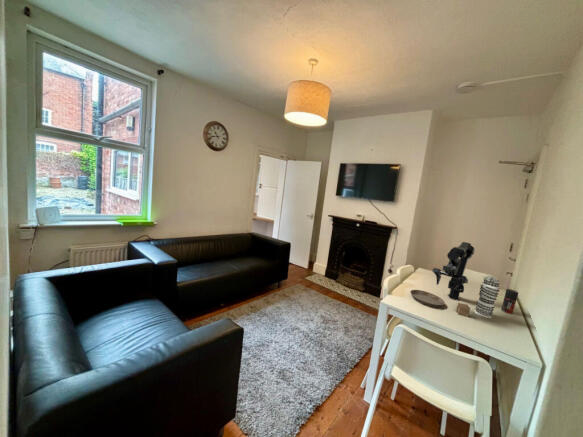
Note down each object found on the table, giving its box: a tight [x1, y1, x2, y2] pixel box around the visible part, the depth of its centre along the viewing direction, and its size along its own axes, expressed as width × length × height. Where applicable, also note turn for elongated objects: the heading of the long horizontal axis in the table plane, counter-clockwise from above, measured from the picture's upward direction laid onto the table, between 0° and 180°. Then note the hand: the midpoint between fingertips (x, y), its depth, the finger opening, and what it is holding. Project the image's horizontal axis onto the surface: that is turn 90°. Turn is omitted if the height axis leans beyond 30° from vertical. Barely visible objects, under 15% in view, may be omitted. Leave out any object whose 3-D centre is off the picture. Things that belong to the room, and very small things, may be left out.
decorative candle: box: [474, 275, 501, 319], centre depth 146 cm, size 9×9×25 cm
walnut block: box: [455, 302, 471, 318], centre depth 144 cm, size 5×5×6 cm
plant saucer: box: [409, 289, 445, 308], centre depth 157 cm, size 21×21×3 cm
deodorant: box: [500, 288, 519, 315], centre depth 155 cm, size 6×6×15 cm
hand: (445, 287), depth 146 cm, fingers open, 9 cm apart
